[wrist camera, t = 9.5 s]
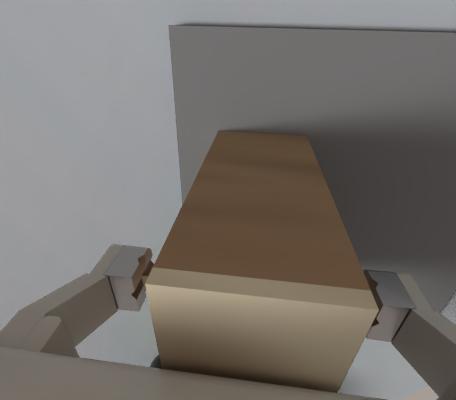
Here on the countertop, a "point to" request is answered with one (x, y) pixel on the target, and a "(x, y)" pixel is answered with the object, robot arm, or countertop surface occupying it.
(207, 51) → the mat
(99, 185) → the countertop surface
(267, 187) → the slab
